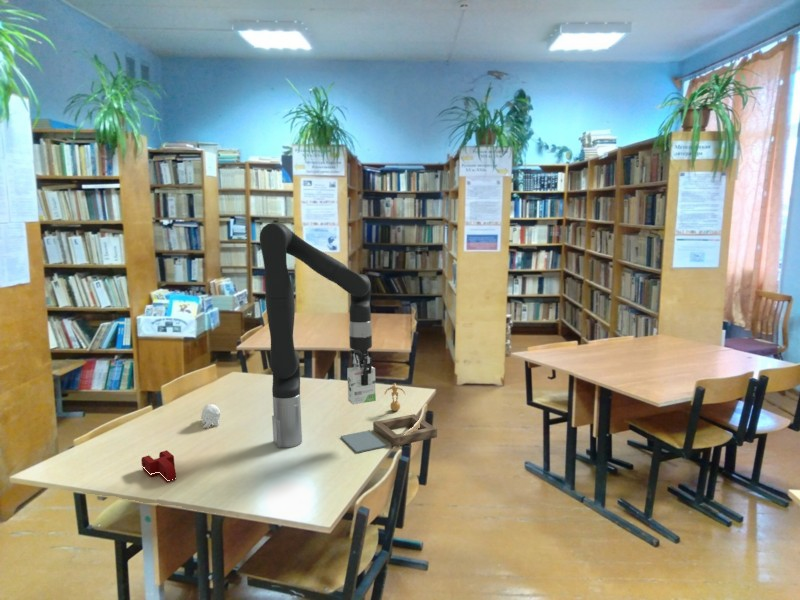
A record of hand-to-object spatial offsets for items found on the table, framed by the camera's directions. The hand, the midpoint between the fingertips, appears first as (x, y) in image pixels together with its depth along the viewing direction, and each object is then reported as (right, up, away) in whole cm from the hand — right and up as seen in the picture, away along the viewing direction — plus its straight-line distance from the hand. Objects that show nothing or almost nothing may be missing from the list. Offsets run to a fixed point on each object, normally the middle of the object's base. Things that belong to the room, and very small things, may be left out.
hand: (361, 382), depth 184 cm
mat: (0, -21, +3) cm, 21 cm away
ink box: (0, -7, +1) cm, 7 cm away
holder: (+15, -20, +10) cm, 27 cm away
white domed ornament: (-59, -19, +22) cm, 66 cm away
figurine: (+11, -17, +33) cm, 38 cm away
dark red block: (-59, -25, -19) cm, 67 cm away
